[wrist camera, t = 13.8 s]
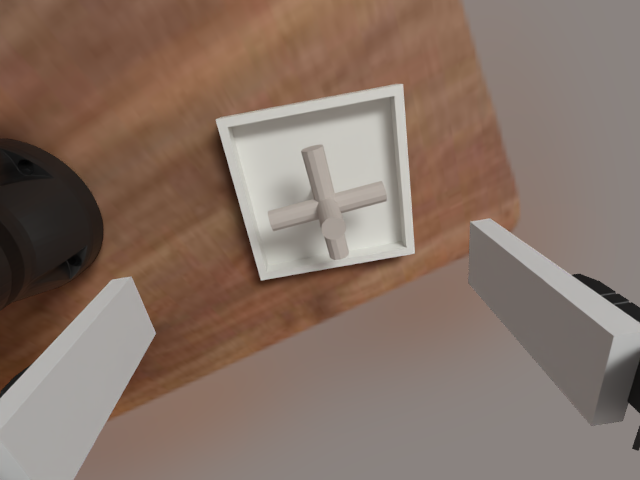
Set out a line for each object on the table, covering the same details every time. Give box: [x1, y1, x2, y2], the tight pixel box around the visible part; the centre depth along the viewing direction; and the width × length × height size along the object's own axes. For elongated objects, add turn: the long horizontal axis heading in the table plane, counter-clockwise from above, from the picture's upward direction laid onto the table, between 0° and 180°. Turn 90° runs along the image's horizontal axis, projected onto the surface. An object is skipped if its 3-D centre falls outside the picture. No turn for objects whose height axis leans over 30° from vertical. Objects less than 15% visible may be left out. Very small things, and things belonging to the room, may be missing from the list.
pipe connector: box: [268, 145, 387, 260], centre depth 30 cm, size 10×10×10 cm
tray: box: [216, 84, 415, 280], centre depth 34 cm, size 16×16×2 cm
